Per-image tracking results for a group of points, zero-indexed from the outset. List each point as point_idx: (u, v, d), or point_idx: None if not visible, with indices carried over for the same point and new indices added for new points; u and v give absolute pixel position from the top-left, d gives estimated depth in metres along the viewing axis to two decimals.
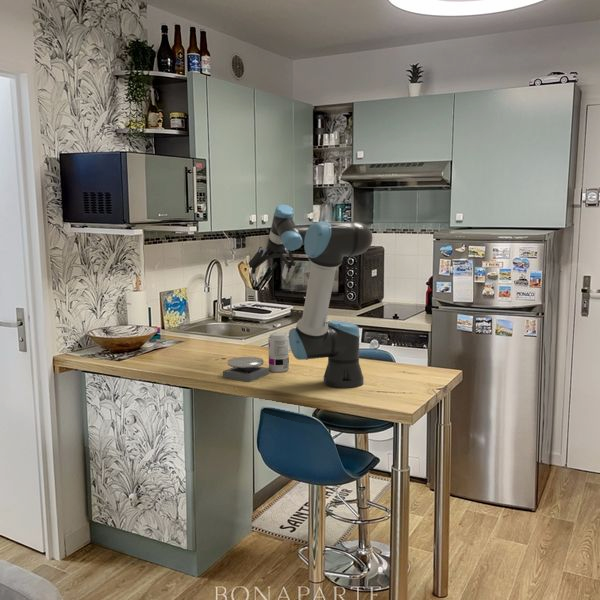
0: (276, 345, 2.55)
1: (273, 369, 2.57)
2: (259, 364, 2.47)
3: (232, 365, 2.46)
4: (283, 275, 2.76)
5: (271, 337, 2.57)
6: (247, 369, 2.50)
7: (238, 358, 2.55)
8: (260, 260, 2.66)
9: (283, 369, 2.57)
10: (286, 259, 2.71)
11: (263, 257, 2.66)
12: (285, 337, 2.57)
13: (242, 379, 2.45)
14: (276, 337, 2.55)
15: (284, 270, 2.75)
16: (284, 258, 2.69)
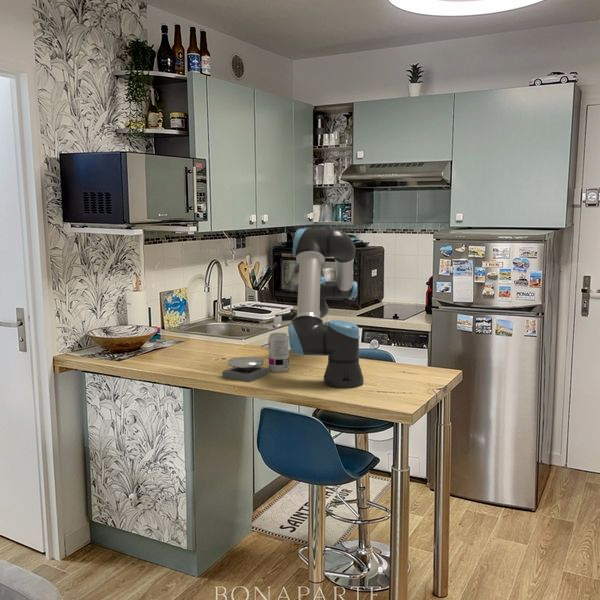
0: (276, 345, 2.55)
1: (273, 369, 2.57)
2: (259, 364, 2.47)
3: (232, 365, 2.46)
4: None
5: (271, 337, 2.57)
6: (247, 369, 2.50)
7: (238, 358, 2.55)
8: None
9: (283, 369, 2.57)
10: None
11: None
12: (285, 337, 2.57)
13: (242, 379, 2.45)
14: (276, 337, 2.55)
15: None
16: None
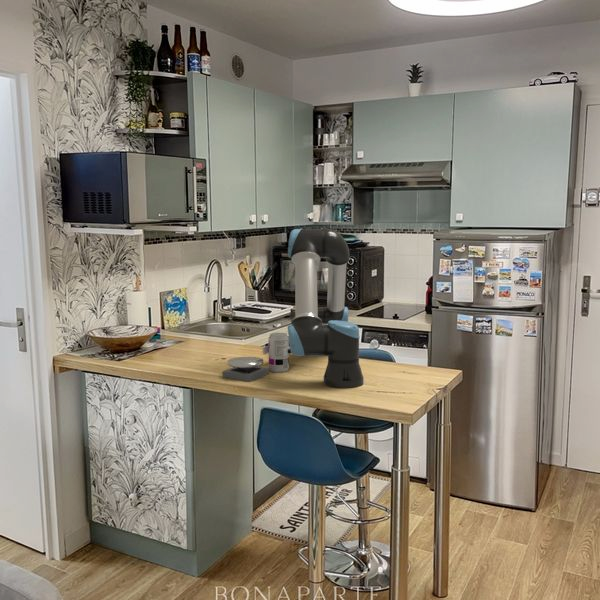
0: (276, 344, 2.55)
1: (273, 369, 2.57)
2: (259, 364, 2.47)
3: (232, 365, 2.46)
4: None
5: (271, 337, 2.57)
6: (247, 369, 2.50)
7: (238, 358, 2.55)
8: None
9: (283, 369, 2.57)
10: None
11: None
12: (285, 337, 2.57)
13: (242, 379, 2.45)
14: (276, 337, 2.55)
15: None
16: None
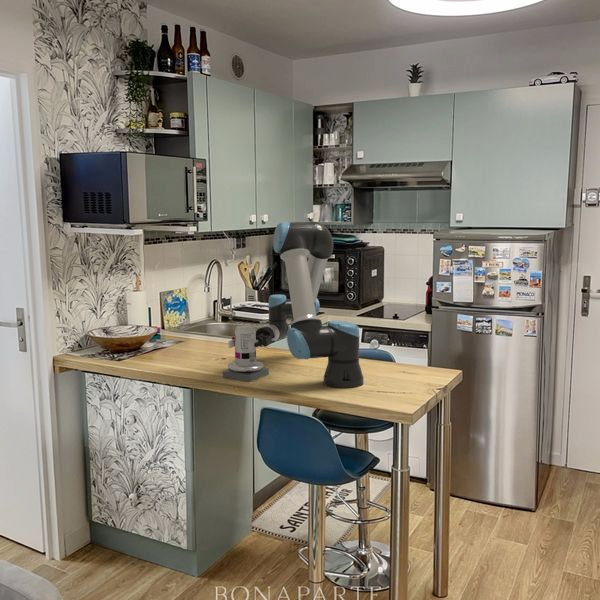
0: (242, 338, 2.46)
1: (239, 363, 2.48)
2: (259, 368, 2.48)
3: (232, 369, 2.46)
4: None
5: (237, 330, 2.47)
6: None
7: None
8: None
9: (250, 363, 2.48)
10: None
11: None
12: (252, 330, 2.47)
13: (242, 379, 2.45)
14: (242, 330, 2.46)
15: None
16: (262, 337, 2.56)
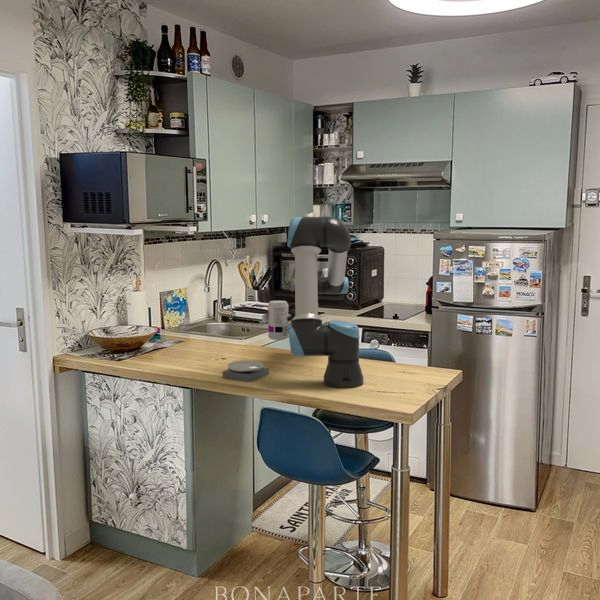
0: (276, 312, 2.54)
1: (273, 337, 2.56)
2: (259, 368, 2.48)
3: (232, 369, 2.46)
4: None
5: (271, 304, 2.55)
6: None
7: (238, 362, 2.55)
8: None
9: (283, 336, 2.56)
10: (294, 316, 2.61)
11: None
12: (285, 304, 2.55)
13: (242, 379, 2.45)
14: (276, 304, 2.54)
15: None
16: (294, 312, 2.63)
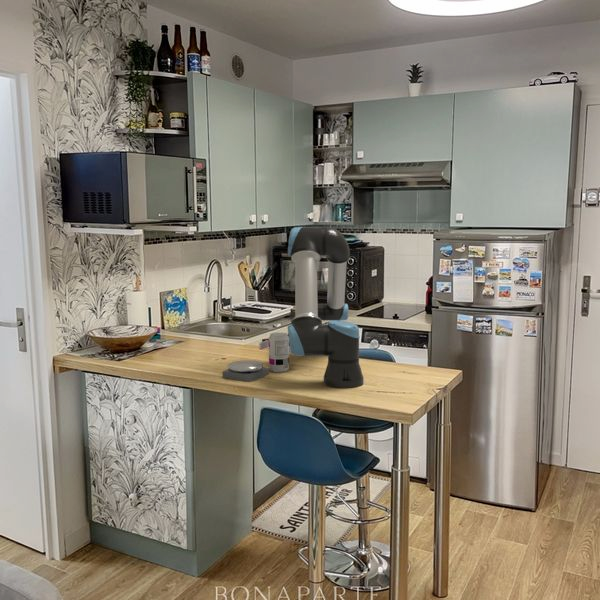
0: (277, 345, 2.55)
1: (273, 369, 2.57)
2: (259, 368, 2.48)
3: (232, 369, 2.46)
4: None
5: (271, 337, 2.57)
6: None
7: (238, 362, 2.55)
8: None
9: (283, 369, 2.57)
10: None
11: None
12: (285, 337, 2.57)
13: (242, 379, 2.45)
14: (276, 337, 2.56)
15: None
16: None
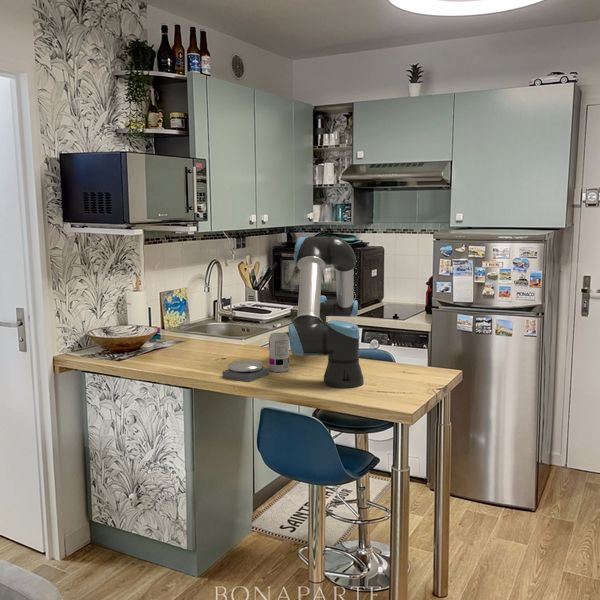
0: (277, 344, 2.55)
1: (273, 369, 2.57)
2: (259, 368, 2.48)
3: (232, 369, 2.46)
4: None
5: (271, 337, 2.57)
6: None
7: (238, 362, 2.55)
8: None
9: (283, 369, 2.57)
10: None
11: None
12: (285, 337, 2.57)
13: (242, 379, 2.45)
14: (276, 337, 2.56)
15: None
16: None
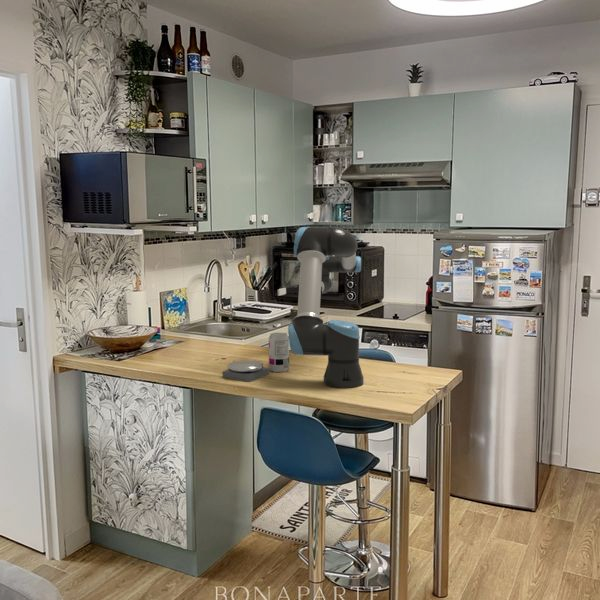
0: (277, 344, 2.56)
1: (273, 369, 2.57)
2: (259, 368, 2.48)
3: (232, 369, 2.46)
4: None
5: (271, 337, 2.57)
6: None
7: (238, 362, 2.55)
8: None
9: (283, 369, 2.57)
10: None
11: None
12: (285, 337, 2.57)
13: (242, 379, 2.45)
14: (276, 337, 2.56)
15: None
16: None
